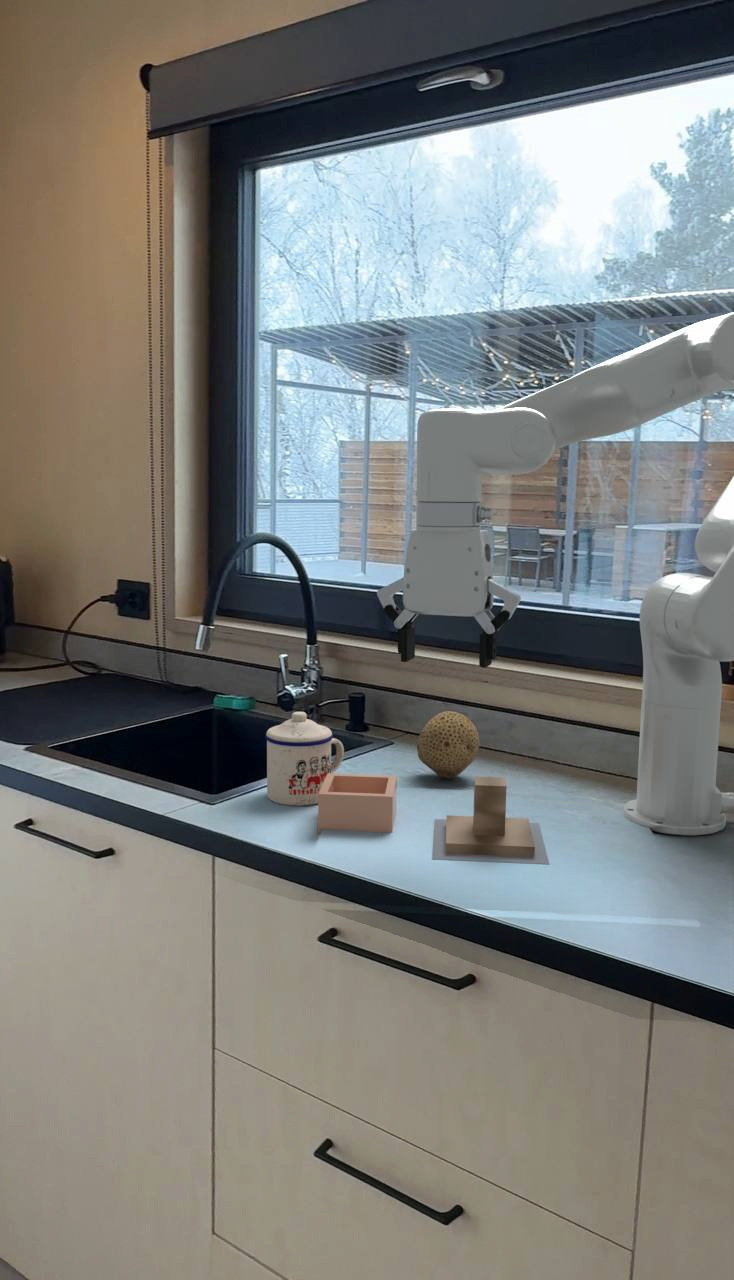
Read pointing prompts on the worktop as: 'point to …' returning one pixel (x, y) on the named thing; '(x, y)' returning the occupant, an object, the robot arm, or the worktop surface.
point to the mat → (441, 854)
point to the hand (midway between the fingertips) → (446, 662)
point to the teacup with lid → (299, 760)
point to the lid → (489, 825)
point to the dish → (357, 802)
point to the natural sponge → (448, 744)
